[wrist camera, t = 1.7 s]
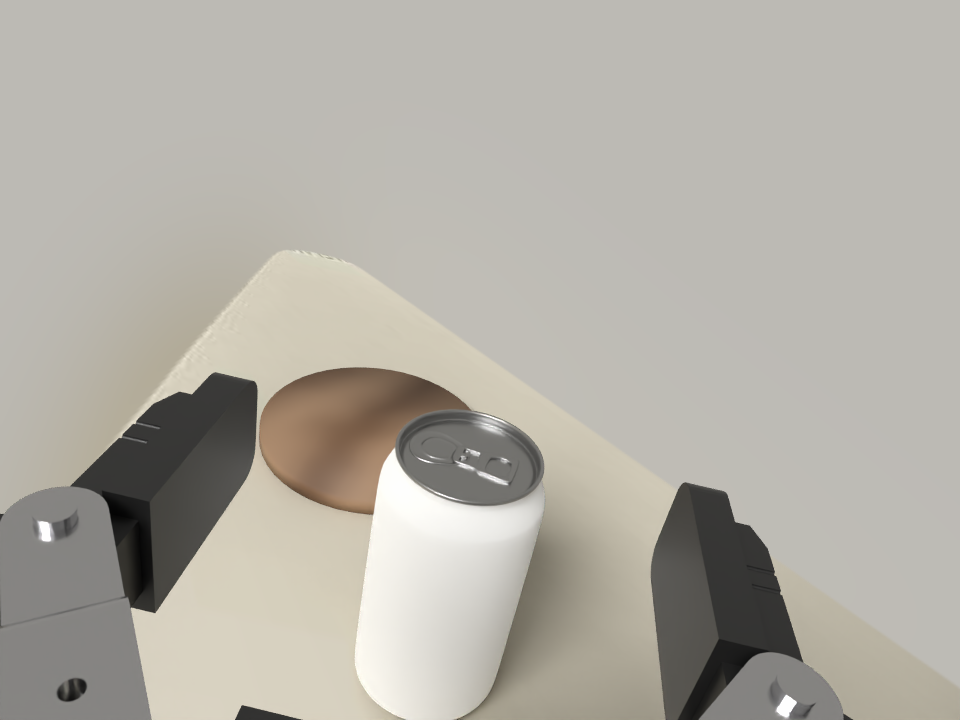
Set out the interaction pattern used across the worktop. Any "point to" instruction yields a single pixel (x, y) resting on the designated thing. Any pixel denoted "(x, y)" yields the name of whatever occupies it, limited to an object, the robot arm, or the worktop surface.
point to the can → (447, 562)
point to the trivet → (343, 430)
